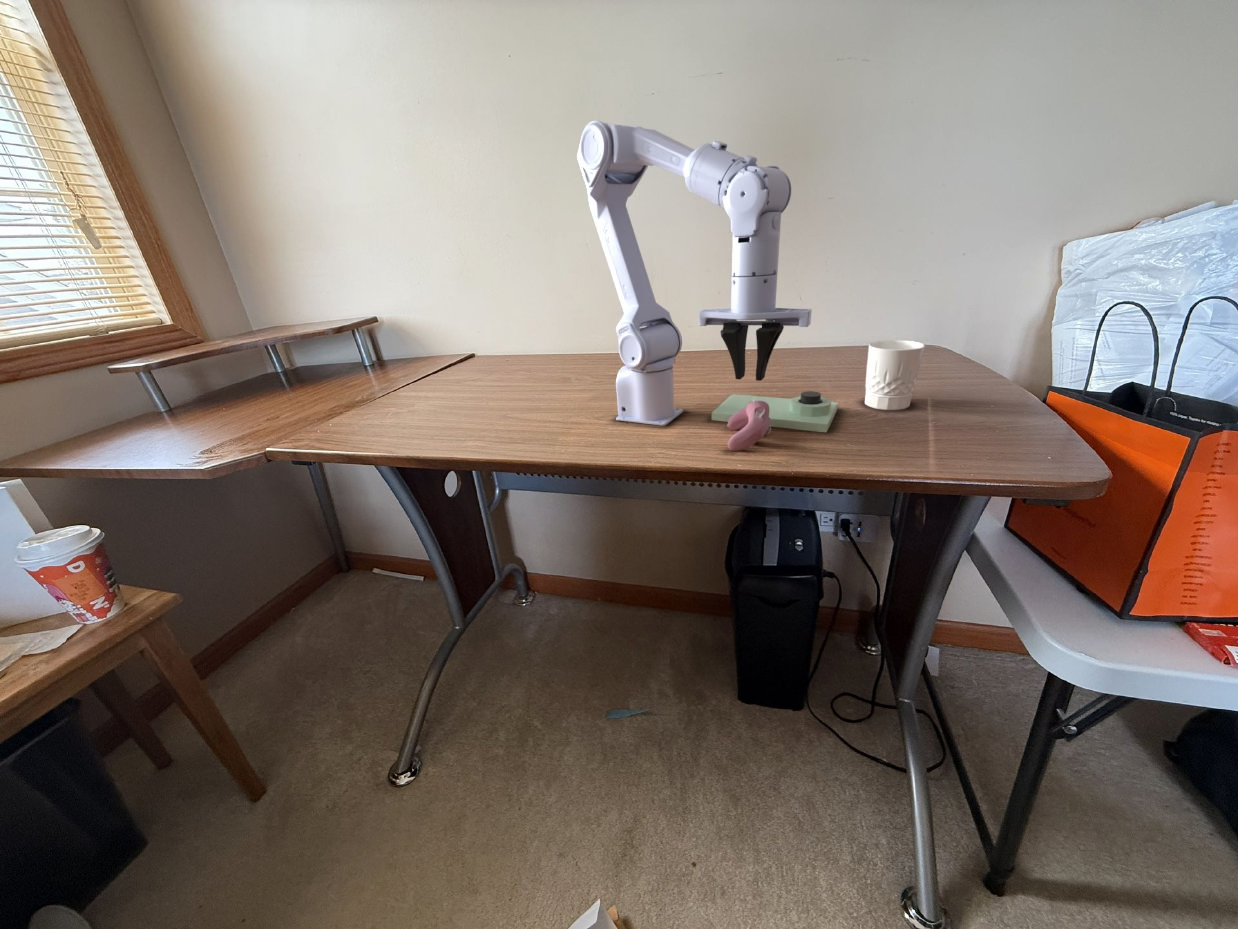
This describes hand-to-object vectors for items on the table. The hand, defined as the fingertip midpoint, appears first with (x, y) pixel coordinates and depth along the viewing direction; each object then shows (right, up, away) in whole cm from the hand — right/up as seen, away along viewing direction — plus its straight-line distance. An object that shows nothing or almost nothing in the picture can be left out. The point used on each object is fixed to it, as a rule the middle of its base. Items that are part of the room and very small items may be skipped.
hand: (750, 378), depth 67 cm
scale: (+7, -4, +13) cm, 15 cm away
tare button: (+12, -2, +9) cm, 15 cm away
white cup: (+27, -2, +14) cm, 30 cm away
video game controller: (+1, -9, +4) cm, 10 cm away
